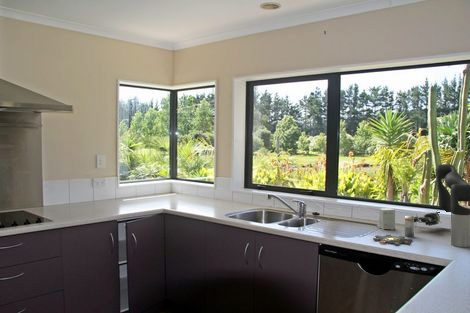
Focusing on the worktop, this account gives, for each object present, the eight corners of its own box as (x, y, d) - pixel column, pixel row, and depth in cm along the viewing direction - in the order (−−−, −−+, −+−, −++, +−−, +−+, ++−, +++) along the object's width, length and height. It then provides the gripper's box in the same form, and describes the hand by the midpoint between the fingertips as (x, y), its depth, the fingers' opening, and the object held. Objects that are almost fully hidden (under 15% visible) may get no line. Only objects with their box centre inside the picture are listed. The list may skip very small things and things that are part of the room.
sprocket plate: (420, 241, 218) (420, 239, 218) (399, 247, 206) (399, 245, 206) (386, 234, 235) (386, 232, 235) (365, 240, 223) (365, 237, 223)
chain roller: (415, 236, 231) (415, 216, 230) (411, 237, 228) (411, 217, 227) (407, 234, 235) (407, 215, 235) (403, 236, 232) (403, 216, 232)
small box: (390, 227, 256) (390, 207, 255) (395, 229, 249) (395, 209, 249) (378, 227, 255) (378, 208, 255) (383, 230, 249) (383, 209, 248)
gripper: (421, 211, 253) (408, 214, 243) (443, 214, 241) (430, 217, 232) (421, 222, 253) (408, 226, 244) (443, 226, 242) (430, 230, 232)
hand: (419, 222), depth 238 cm, fingers open, 8 cm apart
